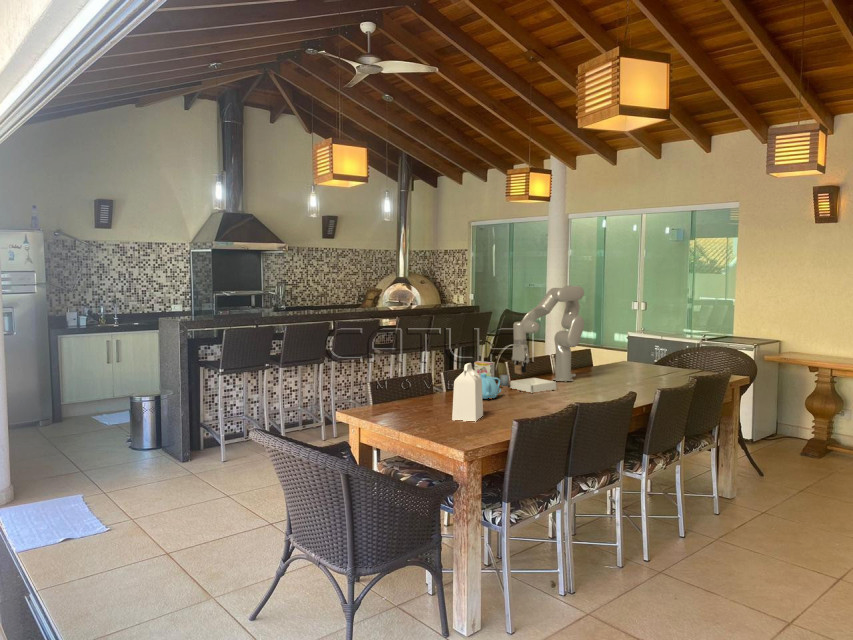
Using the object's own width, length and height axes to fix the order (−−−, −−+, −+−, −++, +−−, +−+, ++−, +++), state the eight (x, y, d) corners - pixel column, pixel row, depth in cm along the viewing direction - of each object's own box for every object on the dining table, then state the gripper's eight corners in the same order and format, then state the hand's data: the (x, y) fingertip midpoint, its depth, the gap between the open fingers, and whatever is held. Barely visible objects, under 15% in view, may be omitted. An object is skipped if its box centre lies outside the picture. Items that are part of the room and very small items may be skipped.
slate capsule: (504, 385, 389) (504, 374, 389) (510, 387, 385) (510, 375, 385) (498, 386, 386) (498, 375, 386) (504, 388, 382) (504, 376, 382)
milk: (460, 414, 313) (460, 361, 311) (483, 416, 309) (483, 362, 307) (452, 420, 302) (452, 365, 300) (475, 422, 298) (475, 366, 296)
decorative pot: (486, 402, 341) (486, 377, 340) (462, 398, 352) (462, 373, 351) (503, 398, 354) (504, 373, 352) (480, 394, 364) (480, 370, 363)
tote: (534, 385, 389) (534, 377, 389) (556, 390, 375) (556, 381, 374) (509, 389, 378) (510, 381, 377) (531, 394, 363) (532, 385, 363)
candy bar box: (473, 389, 377) (473, 361, 376) (477, 388, 382) (477, 360, 380) (490, 391, 372) (491, 363, 370) (494, 390, 376) (494, 362, 374)
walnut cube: (520, 372, 397) (520, 364, 397) (526, 373, 393) (526, 365, 393) (514, 373, 395) (514, 365, 394) (520, 374, 391) (520, 366, 390)
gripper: (534, 342, 387) (535, 372, 389) (514, 340, 401) (515, 369, 403) (525, 344, 383) (525, 374, 385) (505, 341, 397) (506, 370, 399)
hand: (520, 371), depth 394 cm, fingers closed on walnut cube, 4 cm apart
